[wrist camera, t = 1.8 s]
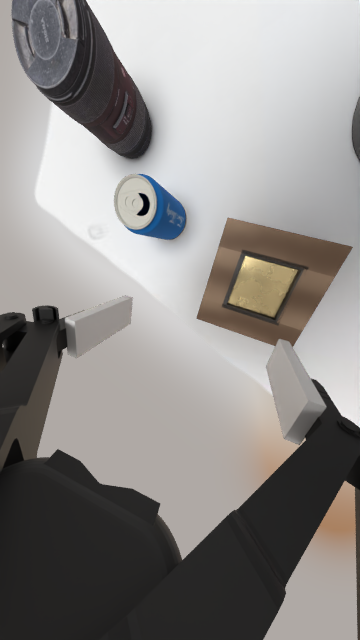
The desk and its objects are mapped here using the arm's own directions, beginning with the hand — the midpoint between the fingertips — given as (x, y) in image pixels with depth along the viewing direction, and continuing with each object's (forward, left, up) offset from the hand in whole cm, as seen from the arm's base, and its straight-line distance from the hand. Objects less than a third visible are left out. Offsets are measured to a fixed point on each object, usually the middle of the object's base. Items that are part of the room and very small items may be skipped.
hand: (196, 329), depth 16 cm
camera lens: (-20, -21, -20) cm, 35 cm away
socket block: (-3, +6, -20) cm, 21 cm away
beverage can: (-9, -12, -20) cm, 25 cm away
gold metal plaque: (-3, +6, -16) cm, 17 cm away
